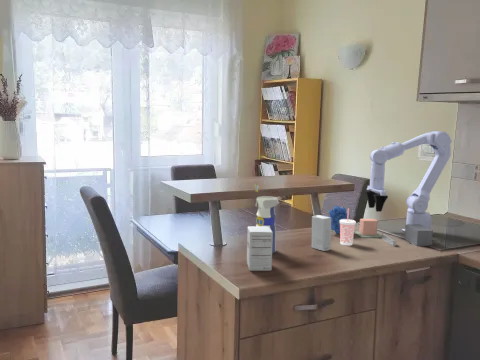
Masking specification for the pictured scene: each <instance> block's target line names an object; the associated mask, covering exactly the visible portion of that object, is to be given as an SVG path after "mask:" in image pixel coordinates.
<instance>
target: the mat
mask: <svg viewBox="0 0 480 360" xmlns="http://www.w3.org/2000/svg"><path fill="white" fill-rule="evenodd" d="M354 234H355V235H356V234H357V236H359V237H360V238H363V239H365V238H370V239H371V238H382V235H381V234H379V233H378V232H377V235H362V234H360V233H359V230H357V231H355V230H354Z"/></svg>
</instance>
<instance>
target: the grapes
mask: <svg viewBox="0 0 480 360" xmlns="http://www.w3.org/2000/svg"><path fill="white" fill-rule="evenodd" d="M328 214H329V216H328V217H330V218H331V231H334V233H335V234H337V235H340V223H339V222H340V221H339V220H342V219H347V209H346V208H345V207H343V206H341V207H340V206H339V205H335V206H334V207H333V209H329V211H328ZM350 217H351V216H350V214H349V217H348V219H349V220H350Z"/></svg>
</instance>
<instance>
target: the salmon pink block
mask: <svg viewBox="0 0 480 360" xmlns="http://www.w3.org/2000/svg"><path fill="white" fill-rule="evenodd" d="M358 229H359V230H358V231H359V233H360V234H362V235H377V233H378V220H377V219H376V218H360V219H359V227H358Z"/></svg>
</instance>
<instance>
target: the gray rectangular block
mask: <svg viewBox="0 0 480 360" xmlns="http://www.w3.org/2000/svg"><path fill="white" fill-rule="evenodd" d="M404 229H405V231H404V237H403V238H404V239H403V240H406V241H408V242H409V243H410V244H413V245H414V246H416V247H429V246H428V245H433V244H432V242H433V234H434V232H433V230H432V229H431V230H430V229H428V228H426V227H424V226H422V225H420V224H405V228H404Z"/></svg>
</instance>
